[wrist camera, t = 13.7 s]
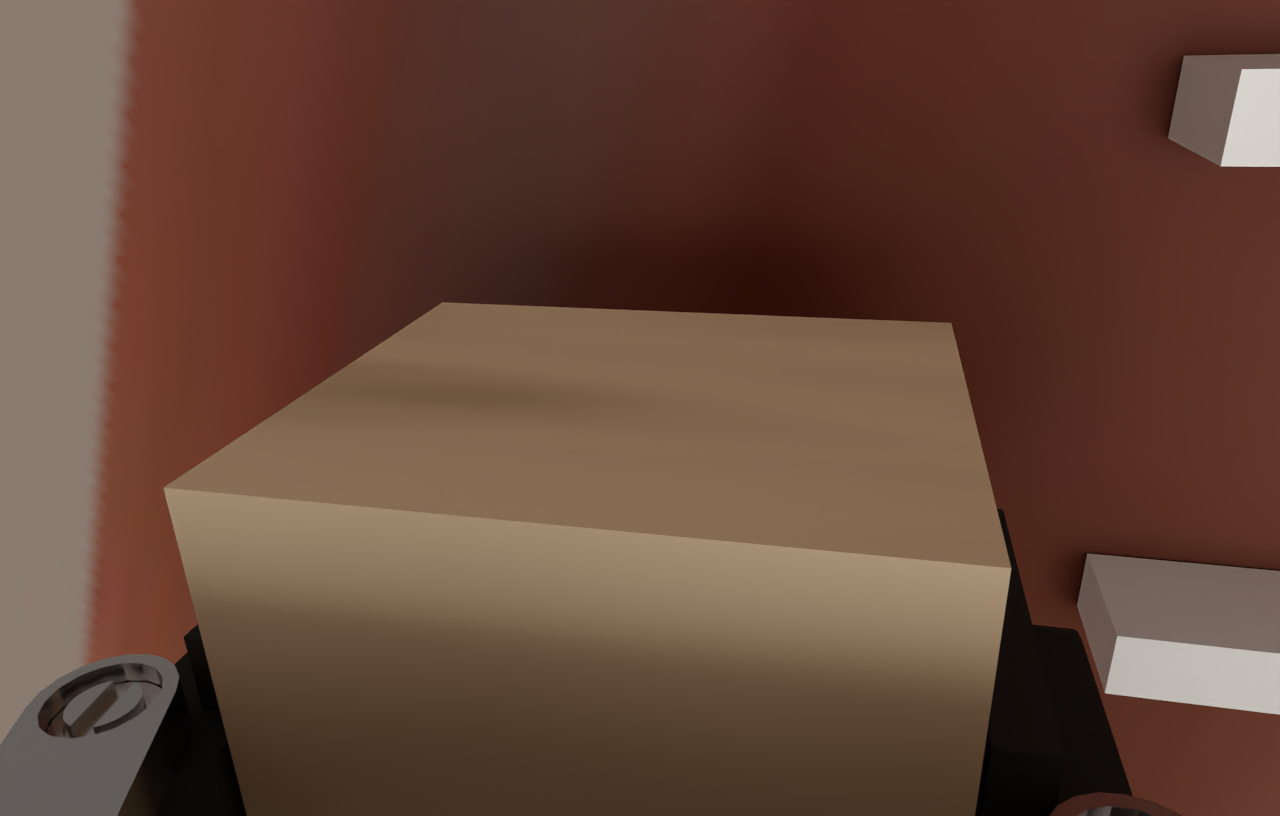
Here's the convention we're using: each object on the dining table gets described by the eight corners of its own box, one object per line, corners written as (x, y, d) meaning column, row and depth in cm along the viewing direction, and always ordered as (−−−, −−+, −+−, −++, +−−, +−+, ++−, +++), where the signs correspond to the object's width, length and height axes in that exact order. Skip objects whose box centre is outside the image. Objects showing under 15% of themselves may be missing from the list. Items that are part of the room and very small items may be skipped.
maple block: (906, 751, 12) (923, 1166, 8) (487, 693, 14) (299, 1021, 9) (951, 322, 10) (1011, 568, 6) (442, 302, 11) (163, 487, 7)
